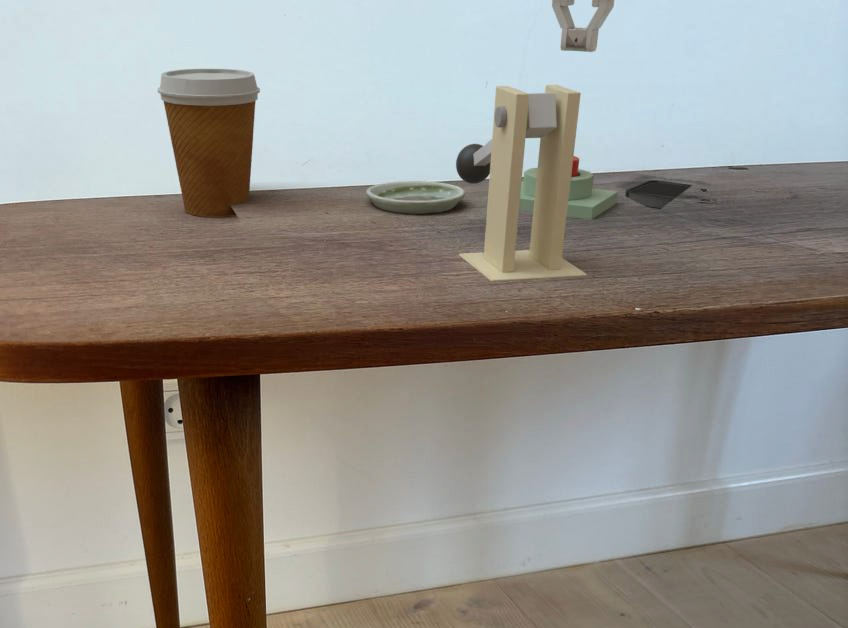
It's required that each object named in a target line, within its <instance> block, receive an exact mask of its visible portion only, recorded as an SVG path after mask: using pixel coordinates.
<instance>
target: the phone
mask: <svg viewBox="0 0 848 628" xmlns="http://www.w3.org/2000/svg"><path fill="white" fill-rule="evenodd" d="M691 187H693V184H689V183H681V182H674V181H666V180H658V179H650V180H646V181H644V182H640V183H639V184H636V185H633V186H631V187H628V188H626V189H625V195H624V197H625V198H628V199H630V200H631V201H634V202H636V203H638V204H640V205H642V206H644V207H650V208H657V209H663V208H664V207H666V206H667V205H668V204H669V203H671V202H672V201H674V200H675V199H676V198H678V197H679V196H681V195H682V194H683V193H684V192H686V191H687V190H688V189H690V188H691Z"/></svg>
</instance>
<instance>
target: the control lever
mask: <svg viewBox="0 0 848 628" xmlns="http://www.w3.org/2000/svg"><path fill="white" fill-rule="evenodd" d="M528 94H529V104H528V115H527V126H526V137H525V139H540V138H543V137H544V136H545V135H547V134H548V133H549V132H551V131H552V130H554V129H555V128H556V127H557V122H556V100H555V93H545V92H539V93H536V92H534V93H533V92H531V93H530V92H529V93H528ZM491 150H492V138H491V139H490V140H488V142H486V143H485V144H483V145H482V144H479V143H471V144H468V145H465V146H464V147H463V148H462V149H461V150H460V151H459V152H458V154H457V157H456V160H455V168H456V172H457V175H458V176H459V178H460V179H461V180H462V181H463V182H465V183H468V184H472V185H475V184H480V183H482V182H484V181H485V180H486V179H487V178H489V177H490V164H491Z"/></svg>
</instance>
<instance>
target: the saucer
mask: <svg viewBox="0 0 848 628" xmlns="http://www.w3.org/2000/svg"><path fill="white" fill-rule="evenodd" d="M365 196H366V197H367V198H368V199H369V200H370V201H371V202H372V204H373V205H374V206H375V207H376V208H378V209H379V210H383V211H387V212H393V213H398V214H399V213H400V214H412V215H413V214H414V215H421V214H422V215H423V214H425V215H426V214H437V213H442V212H448V211H450V210H452V209H454V208H455V207H456V206H457V205H458V204H459V203H460V201H462V200H463V199H464V198H465V197H466V191H465V189H463V188H462V187H460V186H457V185H454V184H451V183H446V182H439V181H427V180H424V181H423V180H402V181H401V180H400V181H390V182H384V183H378V184H375V185H372V186H369V187H368V188H367V189H366V190H365ZM400 198H401V199H400ZM402 198H422V199H426V200H405V199H404V200H403V199H402ZM427 199H430V200H427Z"/></svg>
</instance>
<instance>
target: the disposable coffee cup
mask: <svg viewBox="0 0 848 628" xmlns="http://www.w3.org/2000/svg"><path fill="white" fill-rule="evenodd" d="M159 86H160V87H158V88H157V93H158V94H160V100H161V101H163V105H164V110H165V116H166V120H167V126H168V131H169V136H170V141H171V147H172V149H173V150H172V151H173V155H174V157H173V158H174V162H175V167H176V172H177V176H178V182H179V187H180V191H181V196H182V197H181V198H182V202H183V208H184V211H185V212H186V213H188V214H190V215H192V216H197V217H206V218H225V217H232V216H237V213H236V212H235V210H234V208H233V207H232V206H234V205H239V204H243V203H246V202H247V201H249V200H250V190H251V189H250V188H251V174H252V158H253V145H254V130H255V128H254V127H255V114H256V113H255V112H256V101H257V100H258V99H259V97H258V96H259V93H260V92H261V88H260V87H258V84H257V81H256V76H255V73H253V72H251V71H249V70H242V69H230V68H185V69H183V68H182V69H173V70H167V71H164V72H162V73H161V75H160V85H159Z"/></svg>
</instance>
